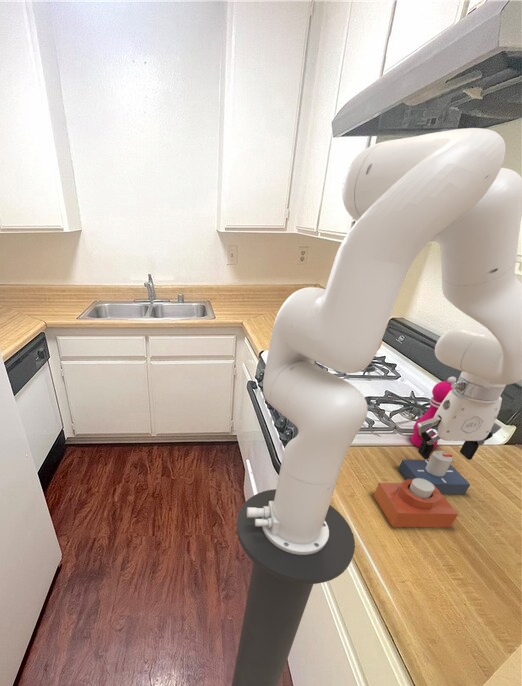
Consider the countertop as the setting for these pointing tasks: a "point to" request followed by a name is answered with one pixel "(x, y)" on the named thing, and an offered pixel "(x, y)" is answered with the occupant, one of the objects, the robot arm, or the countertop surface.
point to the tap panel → (445, 484)
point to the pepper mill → (433, 408)
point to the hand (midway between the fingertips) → (443, 455)
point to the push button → (421, 488)
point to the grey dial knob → (439, 463)
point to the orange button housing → (413, 506)
